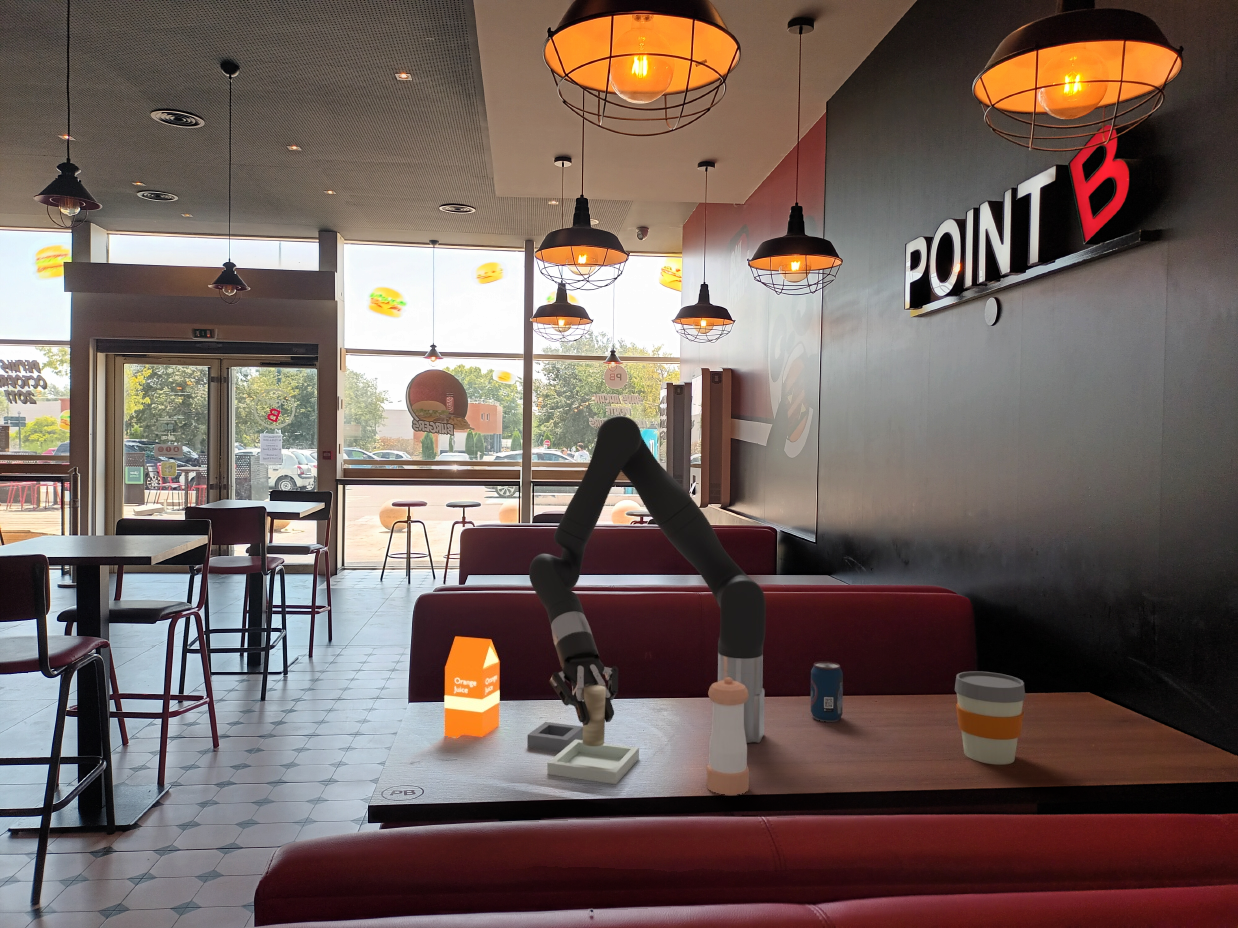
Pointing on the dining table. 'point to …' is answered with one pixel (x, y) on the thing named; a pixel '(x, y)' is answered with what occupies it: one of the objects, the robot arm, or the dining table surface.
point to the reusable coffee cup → (989, 715)
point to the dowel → (594, 715)
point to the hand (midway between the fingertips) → (598, 720)
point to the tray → (593, 762)
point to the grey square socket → (554, 736)
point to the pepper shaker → (728, 739)
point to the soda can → (826, 691)
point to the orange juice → (471, 688)
